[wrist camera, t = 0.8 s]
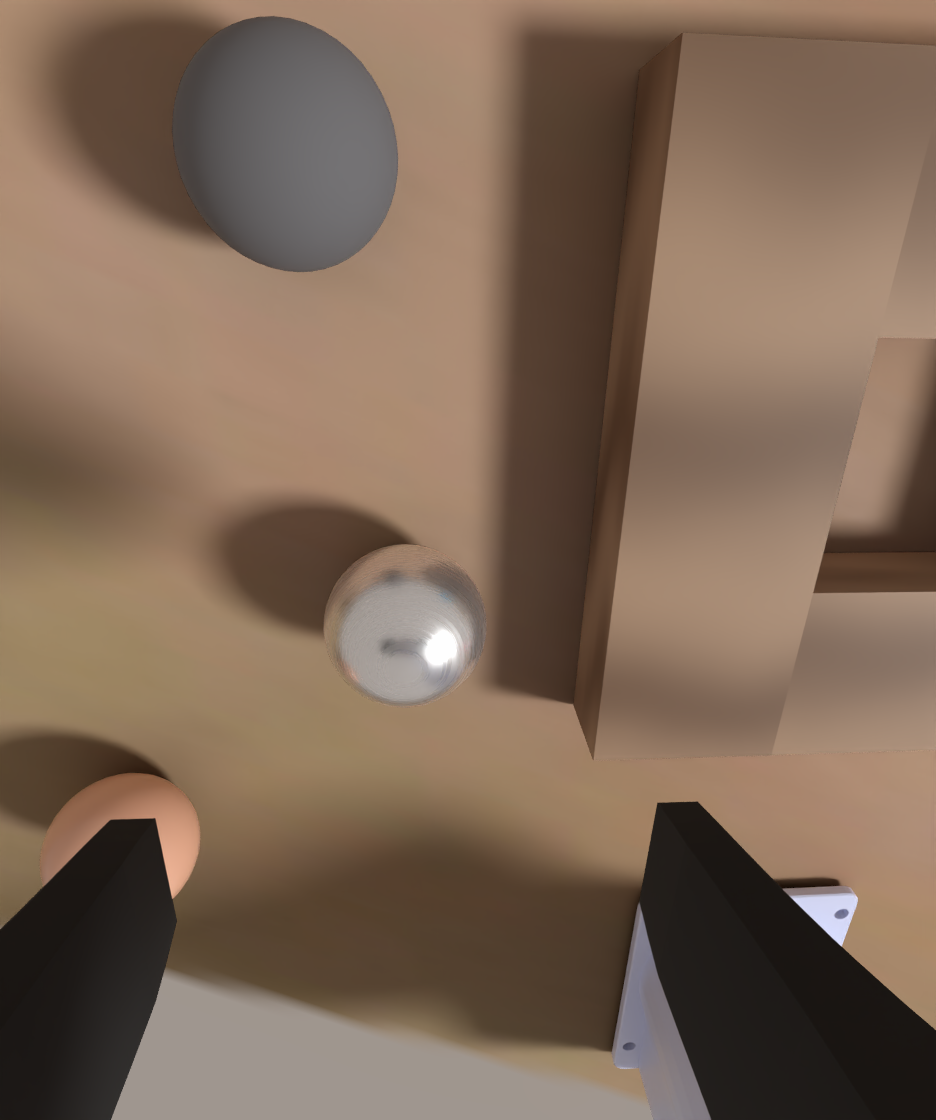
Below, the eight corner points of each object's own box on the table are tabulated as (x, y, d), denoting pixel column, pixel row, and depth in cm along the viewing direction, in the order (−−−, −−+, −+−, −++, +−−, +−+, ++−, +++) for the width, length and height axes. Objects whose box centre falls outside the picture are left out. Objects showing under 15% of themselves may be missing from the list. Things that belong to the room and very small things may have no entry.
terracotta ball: (224, 841, 22) (184, 959, 18) (95, 846, 21) (29, 966, 18) (207, 741, 20) (161, 847, 16) (68, 745, 20) (-11, 854, 16)
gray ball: (401, 272, 15) (397, 275, 12) (221, 268, 15) (158, 270, 11) (398, 58, 14) (392, -17, 10) (196, 49, 13) (113, -32, 10)
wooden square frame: (1062, 693, 22) (1139, 743, 19) (573, 705, 20) (593, 761, 18) (1331, 102, 15) (1493, 74, 13) (639, 69, 14) (682, 32, 12)
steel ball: (476, 650, 19) (491, 739, 16) (337, 652, 19) (319, 745, 15) (481, 520, 18) (498, 587, 14) (329, 521, 18) (305, 589, 14)
